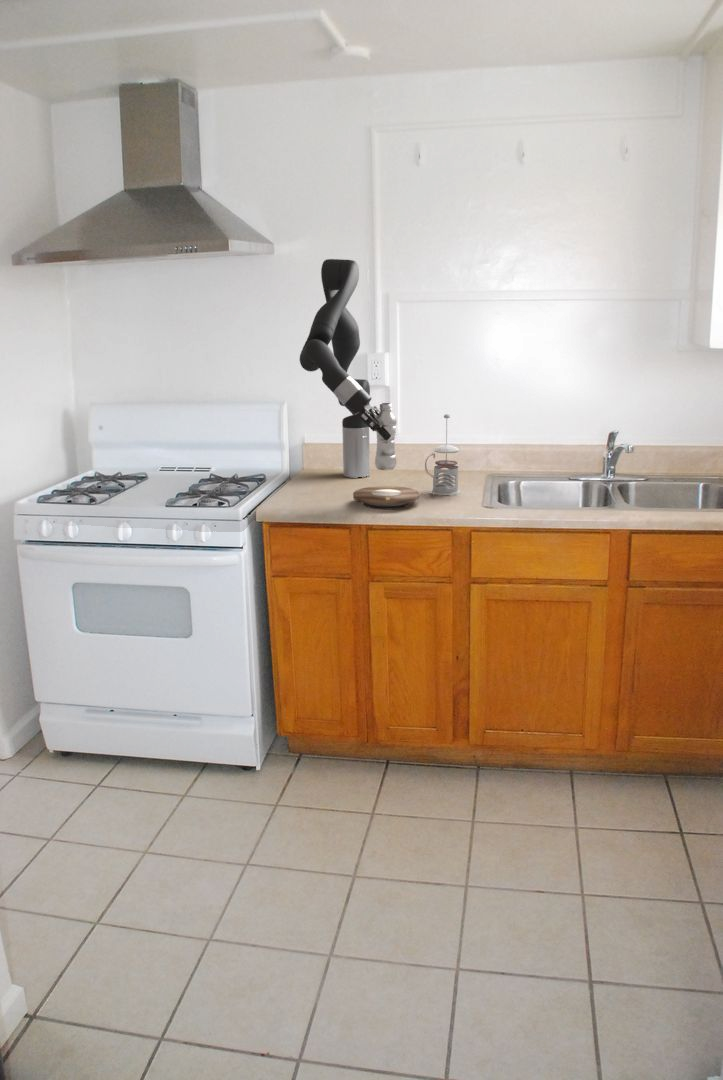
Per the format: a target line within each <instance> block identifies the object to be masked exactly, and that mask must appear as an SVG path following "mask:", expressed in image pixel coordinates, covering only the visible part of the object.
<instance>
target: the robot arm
mask: <svg viewBox="0 0 723 1080" xmlns="http://www.w3.org/2000/svg"><path fill="white" fill-rule="evenodd" d="M320 271H321V272H320V275H321V277H320V279H321V283H322V284H321V285H322V289H323V293H324V298H325V303H324V304H323V305H322V306H321V307H320V308H319V309H318V310H317V312H316V314H315V316H314V318H313V321H312V324H311V326H310V329H309V334H308V337H306V338H307V339H306V341H305V343H304V344H303V347H302V349H301V352H300V355H299V364H300V366H301V368H302V369H303V370H304V371H307V372H316V371H317V370H320V371H321V373H322V375H321V380H322V382H323V384H324V385H325V386H326V387H327V388H328V389H329V390H330V391H331V392H332V393H333V395H335V398H336V399H337V401H338V403H339V405H340V406H342V407H345V409H347V411H349V412H350V414H351V415H349V416H346V417H343V419H342V421H341V424H342V425H341V427H342V471H343V474H342V475H343V477H345V478H350V479H351V478H352V479H353V478H354V479H358V477H362V478H367V477H369V476H370V475H371V474H370V473H371V472H370V470H371V468H370V467H371V466H370V430H371V431H372V432H378V433H379V434H380V435H381V436H382V437H383V438H384V439H385V440H388V439H389V438H390V437H391V434H390V433H389V432H388V431H387V430H386V429H385V428H384V427H383V426H382V424H381V423H380V422H379V418H378V414H379V413H380V410H379V408H378V407H377V406H376V405H374V406H371V405H370V402H371V400H372V396H371V388H370V383H369V381H368V380H367V379H357V378H355V379H354V378H352V377H351V375H349V373H348V370H349V367H350V366H351V364H352V361H354V358H355V357H356V355H357V354H358V352H359V350H360V346H361V339H360V329H359V325H358V322H357V321H356V319H355V317H354V316H353V315H352V314H351V313H350V311H349V310H348V308H347V306H348V305H347V304H349V301H350V299H351V297H352V295H353V293H354V292H355V290H356V288H357V286H358V283H359V279H360V268H359V265H358V263H357V261H355V260H353V259H343V258H342V259H341V258H339V259H337V258H327V259H325V260H323V262H322V264H321V269H320ZM330 342H331V346H332V350H331V348H330V347H329V344H330ZM396 433H397V432H396V431H395V434H396ZM366 476H367V477H366Z"/></svg>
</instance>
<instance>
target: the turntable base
mask: <svg viewBox="0 0 723 1080" xmlns="http://www.w3.org/2000/svg"><path fill="white" fill-rule="evenodd" d="M362 504H363V506H365V507H367V508H371V509H377V510H392V509H394V510H395V508H396V509H401V508H405V507H407V505H408V506H409V505H410V503H405V504H396V505H375V504H367V503H362Z"/></svg>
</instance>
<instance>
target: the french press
mask: <svg viewBox="0 0 723 1080" xmlns="http://www.w3.org/2000/svg"><path fill="white" fill-rule="evenodd" d="M450 417H451V416H450V414H448V413H445V414H444V415H443V418H444V419H446V422H445V423H446V424H445V426H446V430H445V432H446V433H445V434H446V435H445V436H446V437H445V444H442V445H441V444H440V445H439V446H437V447H435V448H434V449H433V451H434V452H435V453H434V452H432V453H431V454H429V455H428V456H427V457H426V459H425V461H424V469H425V472H426V474H427V475H429V476H430V477H431V478H433V480H432V481H433V482H432V483H433V485H432V486H433V487H432V490H430V493H431V492H432V493H434V494H433V495H435V494H438V495H437V496H442V495H451V496H456V495H455V494H458V495H460V494H461V493H460V491H461V490H460V489H459V466H457V465H458V462H457V461H456V460H451V459H450V460H449V459H447V454H456V453H459V451H460V449H459V448H458V447H456V446H454V445H451V444H448V419H450ZM436 453H437V454H445V459H441V460H436V461H435V462H434V463H435V466H434V467H433V474H432V473H431V472H430V471H429V470H428V467H427V462H428V459H429V458H430V457H431V456H433V459H435V458H436ZM432 493H431V494H432ZM459 493H460V494H459Z"/></svg>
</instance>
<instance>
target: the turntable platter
mask: <svg viewBox="0 0 723 1080" xmlns="http://www.w3.org/2000/svg"><path fill="white" fill-rule="evenodd" d="M352 495H353V497H352V498H353V500H355V501H356V502H358V503H362V504H363V503H367V504H375V505H396V504H405V503H409V504H410V503H413V502H415V501H418V500H419V499H420V492H419V491H418V490H416V489H414V488H410V487H405V486H395V485H378V486H376V485H375V486H367V487H362V488H360V489H357V490H356V489H355V491H354V492H353V494H352Z"/></svg>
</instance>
